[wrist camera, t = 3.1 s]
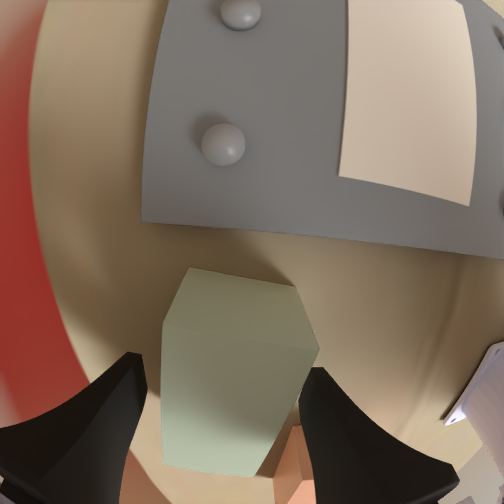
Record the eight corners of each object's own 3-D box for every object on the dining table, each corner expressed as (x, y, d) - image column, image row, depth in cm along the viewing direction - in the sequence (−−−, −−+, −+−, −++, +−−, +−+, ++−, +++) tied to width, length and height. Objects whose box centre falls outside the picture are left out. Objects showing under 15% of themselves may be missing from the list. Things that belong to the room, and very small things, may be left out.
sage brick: (294, 284, 11) (319, 348, 7) (251, 414, 13) (253, 476, 9) (190, 265, 10) (162, 323, 6) (176, 403, 13) (163, 464, 9)
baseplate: (511, 37, 6) (527, 33, 4) (507, 256, 10) (525, 266, 9) (203, -73, 5) (199, -92, 3) (150, 215, 9) (134, 226, 8)
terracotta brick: (356, 417, 14) (375, 468, 10) (322, 472, 16) (330, 511, 12) (292, 423, 13) (302, 480, 10) (272, 476, 16) (276, 518, 12)
